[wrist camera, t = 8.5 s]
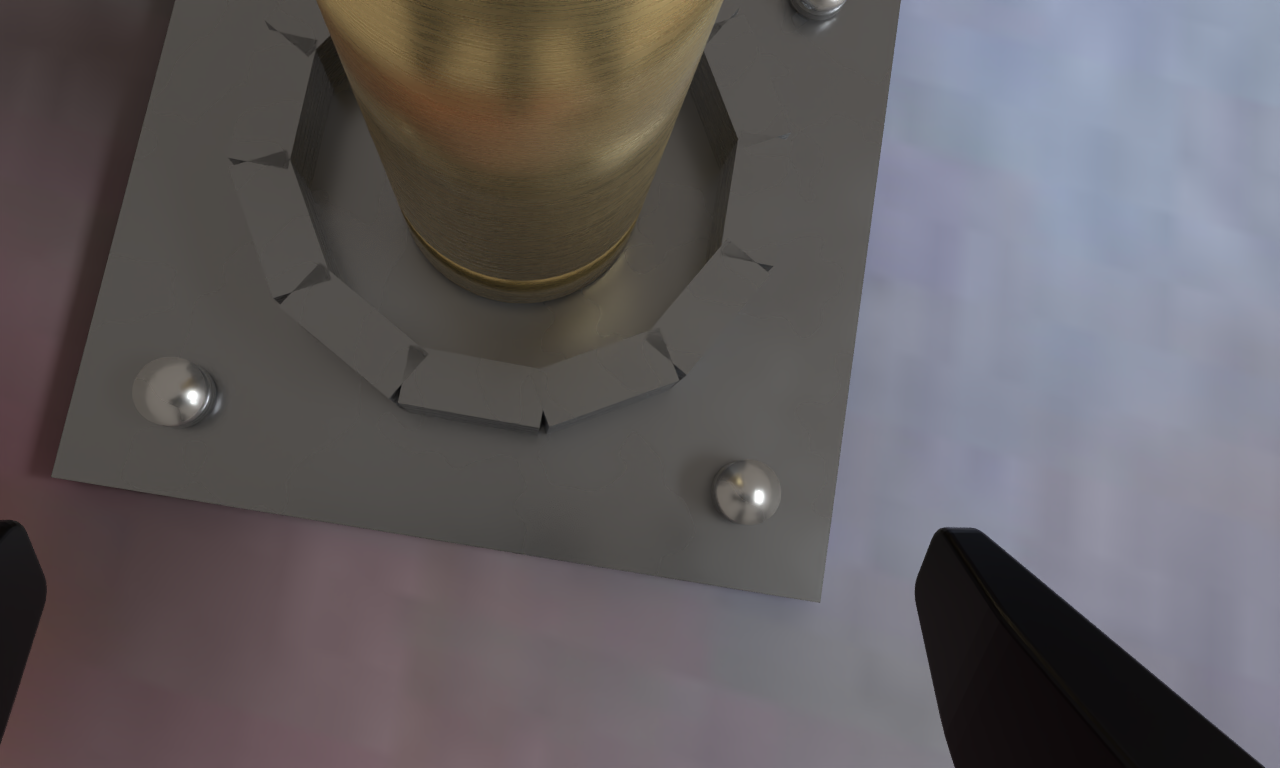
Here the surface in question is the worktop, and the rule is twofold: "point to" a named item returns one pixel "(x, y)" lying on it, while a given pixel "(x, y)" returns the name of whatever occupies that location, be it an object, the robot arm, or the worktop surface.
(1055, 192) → the worktop surface
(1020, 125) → the worktop surface
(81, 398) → the floor flange
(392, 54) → the brass cylinder
